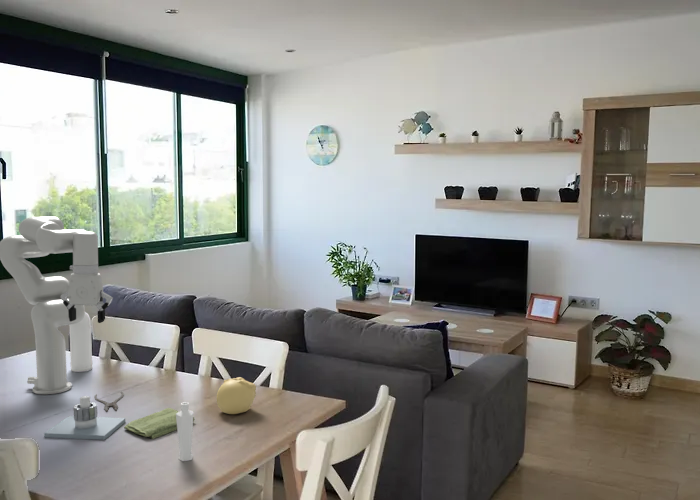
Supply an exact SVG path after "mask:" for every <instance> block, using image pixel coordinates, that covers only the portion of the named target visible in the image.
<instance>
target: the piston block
mask: <svg viewBox="0 0 700 500" xmlns="http://www.w3.org/2000/svg"><path fill="white" fill-rule="evenodd" d="M90 402H91V396H89V395H84V396H80V397H79V403H80V408H89V407H90ZM125 423H126V417H103V416H97V417H96V418H95V419H92V420H88V421H76V420H74V415H69V416H67V417H65V418H64V419H62V420H61V421H59V422H58V423H57V424H55V425H54V426H53V427H51V428H50V429H47V430H46V431H45V432H44V433H43V438H51V439H52V438H53V439H54V438H55V439H56V438H58V439H78V440H79V439H80V440H82V439H83V440H99V441H100V440H103V441H105V440H106V439H107V438H108V437H110V436H111V435H112V434H114V432H116V430H118V429H119V428H120V427H121V426H123V425H124V424H125Z"/></svg>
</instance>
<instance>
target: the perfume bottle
mask: <svg viewBox="0 0 700 500" xmlns="http://www.w3.org/2000/svg"><path fill="white" fill-rule="evenodd" d="M189 404H190V402H186V401H183V402H181V403H180V410H179V411H178V413H176V421H177V430H176V431H177V440H178V450H179V454H178V460H180V462H186V461H192V460H193V458H194V455H193V450H192V449H193V448H192V447H193V430H194V429H193V428H194V427H193V426H194V422H193V417H194V411H193V410H191V409H189Z"/></svg>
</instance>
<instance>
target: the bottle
mask: <svg viewBox="0 0 700 500" xmlns="http://www.w3.org/2000/svg"><path fill="white" fill-rule="evenodd" d="M83 306H84V310H85V305H83ZM91 321H92V320H91V317H90V315H89V313H88V312H86V311H85V315H84V318H83V320H82V321H80V322H78V323H75V324H71V325H68V326H69V348H70V349H69V350H70V351H69V352H70V353H69V355H70V356H69V357H70V363H69V364H70V371H71V372H74V373H83V372H89V371H91V370H92V369H93V349H92V347H93V346H92V322H91Z"/></svg>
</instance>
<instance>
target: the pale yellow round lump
mask: <svg viewBox="0 0 700 500" xmlns="http://www.w3.org/2000/svg"><path fill="white" fill-rule="evenodd" d="M256 390H257V385H256V384H255V383H254V382H250V381H248V380H246V379H245V378H243V377H241V376H238V377H236V378H235V377H233V378H227V379H224V380H223V383H222V384H221V385H220V386H219V388H218V390H217V393H216V397H215V398H216V404H217V407H218V408H219V410H220V411H221V412H222V413H224V414H227V415H237V414H242V413H245V412H247V411H249V410H250V408H251V407H252V406H253V403H254V399H255V398H256V395H257V392H256Z"/></svg>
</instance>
